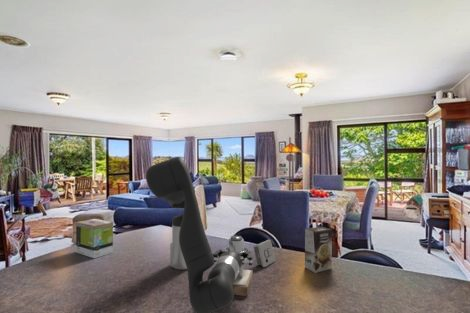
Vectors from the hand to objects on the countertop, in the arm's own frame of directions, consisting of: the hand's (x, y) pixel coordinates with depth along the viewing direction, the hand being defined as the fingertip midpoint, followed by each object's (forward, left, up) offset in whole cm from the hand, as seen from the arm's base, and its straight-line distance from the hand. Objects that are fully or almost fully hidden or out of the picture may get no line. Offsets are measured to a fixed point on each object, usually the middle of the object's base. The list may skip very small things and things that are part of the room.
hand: (237, 249), depth 99 cm
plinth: (0, -3, -12) cm, 12 cm away
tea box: (-72, +16, -12) cm, 75 cm away
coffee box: (+30, +18, -12) cm, 37 cm away
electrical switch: (+8, +19, -12) cm, 24 cm away
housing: (0, -3, -7) cm, 8 cm away
